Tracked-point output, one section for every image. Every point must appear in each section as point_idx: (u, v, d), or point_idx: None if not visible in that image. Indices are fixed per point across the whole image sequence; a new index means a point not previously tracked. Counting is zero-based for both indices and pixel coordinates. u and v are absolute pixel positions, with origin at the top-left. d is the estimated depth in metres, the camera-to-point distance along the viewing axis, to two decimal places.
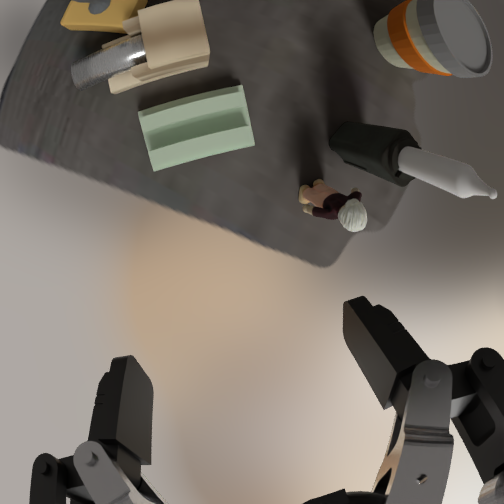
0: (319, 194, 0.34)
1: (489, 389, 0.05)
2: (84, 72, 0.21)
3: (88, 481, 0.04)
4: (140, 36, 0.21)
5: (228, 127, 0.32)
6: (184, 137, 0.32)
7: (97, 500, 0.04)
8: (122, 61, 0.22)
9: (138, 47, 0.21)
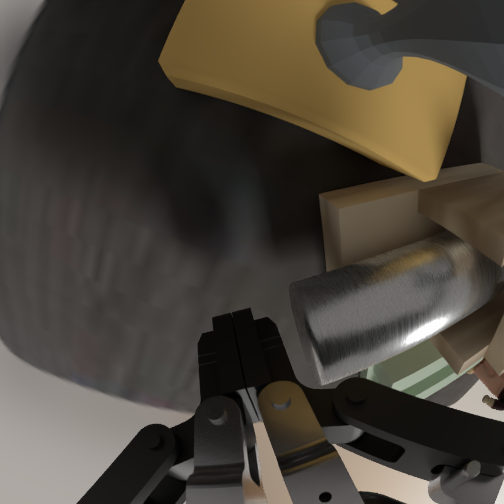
0: (494, 379, 0.22)
1: (373, 422, 0.05)
2: (366, 366, 0.09)
3: (201, 437, 0.06)
4: None
5: None
6: None
7: (241, 458, 0.05)
8: (450, 325, 0.09)
9: (488, 295, 0.09)
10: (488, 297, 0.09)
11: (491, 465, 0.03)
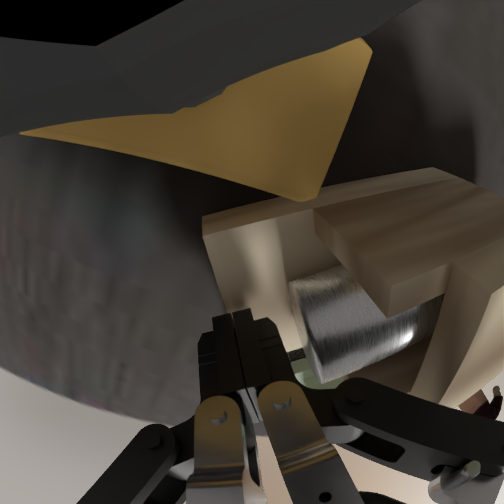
0: (467, 399, 0.21)
1: (373, 422, 0.05)
2: (365, 364, 0.09)
3: (201, 437, 0.06)
4: None
5: None
6: None
7: (241, 458, 0.05)
8: None
9: None
10: None
11: (491, 465, 0.03)
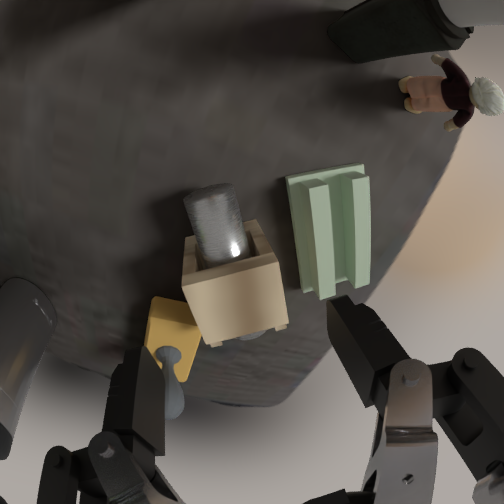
0: (431, 101, 0.20)
1: (473, 390, 0.05)
2: None
3: (101, 472, 0.05)
4: (212, 267, 0.23)
5: (340, 195, 0.26)
6: (342, 245, 0.29)
7: (114, 491, 0.04)
8: None
9: None
10: None
11: None
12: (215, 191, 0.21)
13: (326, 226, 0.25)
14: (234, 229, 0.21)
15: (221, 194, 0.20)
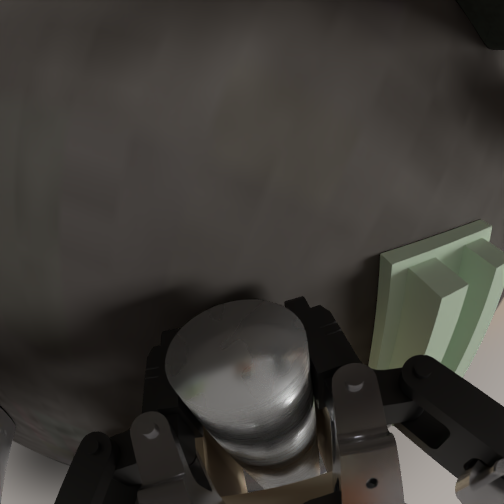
0: None
1: (431, 398, 0.05)
2: None
3: (140, 453, 0.05)
4: (244, 465, 0.09)
5: None
6: None
7: (164, 472, 0.05)
8: (308, 467, 0.10)
9: (284, 469, 0.09)
10: (287, 467, 0.08)
11: None
12: (255, 347, 0.07)
13: (441, 348, 0.11)
14: (302, 425, 0.07)
15: (281, 377, 0.06)
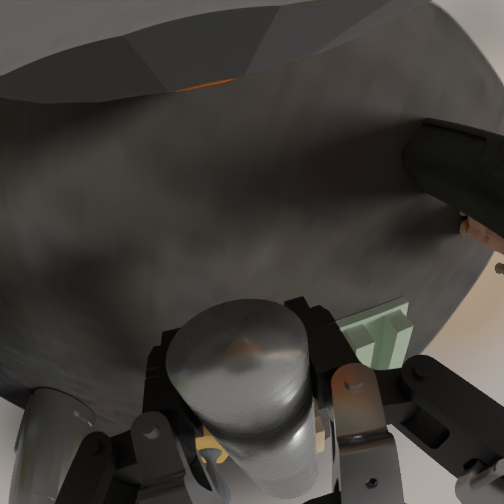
0: (490, 242, 0.18)
1: (430, 398, 0.05)
2: (301, 490, 0.12)
3: (141, 452, 0.05)
4: (242, 464, 0.09)
5: (380, 331, 0.25)
6: (373, 364, 0.28)
7: (164, 472, 0.05)
8: (306, 467, 0.10)
9: (282, 469, 0.09)
10: (286, 467, 0.09)
11: None
12: (255, 346, 0.07)
13: None
14: (301, 424, 0.07)
15: (281, 375, 0.06)
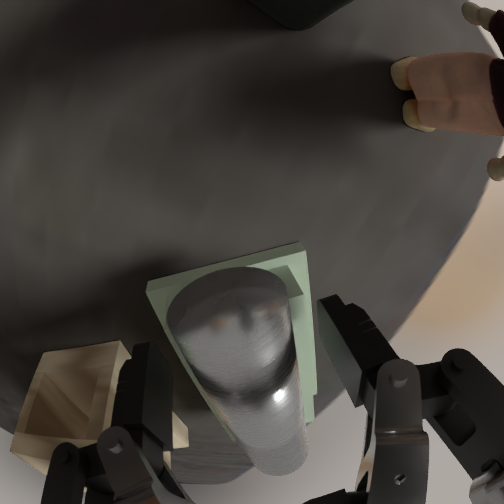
0: (463, 110, 0.08)
1: (464, 391, 0.05)
2: (292, 465, 0.13)
3: (109, 467, 0.05)
4: (234, 427, 0.10)
5: None
6: None
7: (124, 486, 0.04)
8: (294, 435, 0.11)
9: (271, 432, 0.10)
10: (274, 429, 0.10)
11: None
12: (244, 301, 0.09)
13: None
14: (285, 379, 0.09)
15: (264, 322, 0.08)
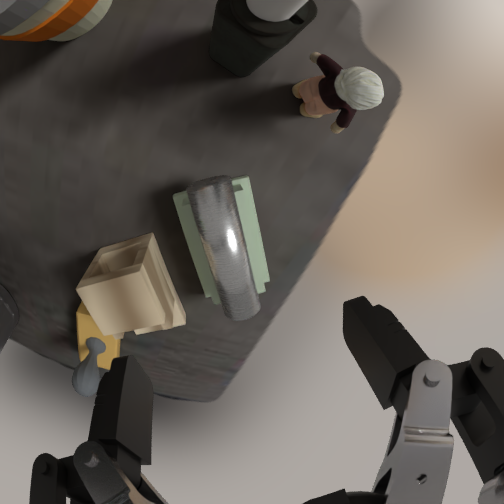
0: (317, 104, 0.23)
1: (489, 389, 0.05)
2: (247, 306, 0.28)
3: (88, 481, 0.04)
4: (210, 250, 0.25)
5: None
6: None
7: (97, 500, 0.04)
8: (242, 266, 0.26)
9: (228, 252, 0.25)
10: (229, 250, 0.25)
11: None
12: (215, 181, 0.24)
13: None
14: (231, 214, 0.24)
15: (220, 183, 0.23)
